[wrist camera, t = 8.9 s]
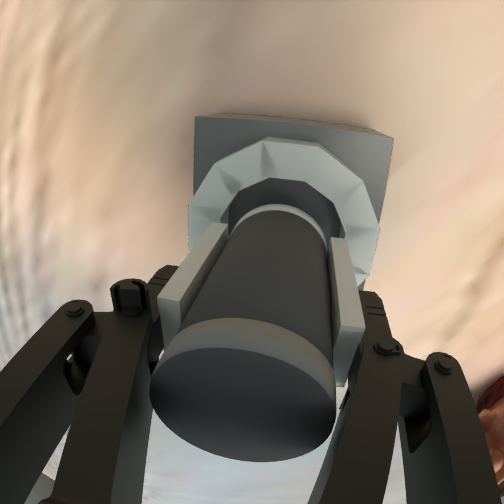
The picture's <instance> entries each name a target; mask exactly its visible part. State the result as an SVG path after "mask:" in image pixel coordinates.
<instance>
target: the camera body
mask: <svg viewBox="0 0 504 504" xmlns="http://www.w3.org/2000/svg"><path fill="white" fill-rule="evenodd" d="M393 141H394V139H393V138H391V137H389V136H386V135H384V134H382V133H379V132H377V131H375V130H371V129H365V128H360V127H354V126H347V125H341V124H334V123H327V122H320V121H312V120H304V119H295V118H285V117H274V116H262V115H248V114H230V113H220V114H212V115H205V116H198V117H195V136H194V197H193V198H192V200H191V202H190V203H189V205H188V224H189V252H191V250H192V249H193V248H194V246H195V245H196V244H197V242H198V241H199V240H200V238H201V237H202V236H203V234H204V233H205V232H206V230H207V229H208V228H209V227H210V225H211V224H212V223H213V222H215V223H224V224H228V239H229V237H230V234H231V232H232V231H233V229H234V227H235V226H236V224H237V223H238V221H239V220H240V219H241V218H242V217H243V216H244V215H245V214H247V213H248V212H249V211H251V210H253V209H255V208H257V207H260V206H263V205H268V204H284V205H289V206H292V207H296V208H298V209H300V210H302V211H304V212H305V213H307V214H308V215H309V216H310V217H312V218H313V219H314V220H315V221H316V223H317V224H318V225H319V227H320V228H321V230H322V232H323V234H324V237H325V240H326V246H327V255H328V250H329V244H330V238H331V237H335V238H342V239H347V243H348V248H349V252H350V256H351V260H352V265H353V269H354V273H355V278H356V283H357V287H358V290H361V291H363V287H364V283H365V279H366V278H367V277H368V276H369V274H370V270H371V266H372V262H373V258H374V254H375V250H376V246H377V241H378V237H379V233H380V227H379V220H380V215H381V211H382V206H383V201H384V195H385V190H386V184H387V179H388V173H389V167H390V161H391V155H392V148H393Z"/></svg>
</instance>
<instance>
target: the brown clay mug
mask: <svg viewBox="0 0 504 504" xmlns="http://www.w3.org/2000/svg"><path fill="white" fill-rule="evenodd" d="M476 409H477V412H478V415H479V418H480V421H481V424H482V427H483V431H484V434H485V437H486V441H487V444H488V448H489V451H490V455H491V459H492V462H493V466H494V470H495V474H496V479H497V483H498V488H499V492H500V496H501V497H502V496H504V376H503V377H502V378H500V379H499V380H498V381H497V382H496V383H495V384H494V385H492V386H491V387H490V388H489V389H488V390H487V391H486V393H485V394H484V395H483V396H482V398H481V399H480V401H479V402H478V404H477V406H476Z"/></svg>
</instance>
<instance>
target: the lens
mask: <svg viewBox="0 0 504 504" xmlns="http://www.w3.org/2000/svg"><path fill="white" fill-rule="evenodd" d="M149 396H150V401H151V404H152V407H153V408H154V410H155V412H156V414H157V415H158V417H159V418H160V419H161V421H162V422H163V423H164V424H165V425H166V426H167V427H168V428H169V429H170V430H171V431H173V432H174V433H175V434H176V435H178V436H179V437H180V438H182V439H184V440H185V441H187V442H188V443H190V444H192V445H194V446H196V447H198V448H200V449H202V450H205V451H207V452H210V453H213V454H215V455H219V456H222V457H226V458H230V459H235V460H241V461H250V462H275V461H282V460H288V459H292V458H296V457H299V456H302V455H304V454H307V453H309V452H311V451H312V450H314V449H316V448H317V447H319V446H320V445H321V444H322V443H324V441H325V440H326V439H327V438H328V437H329V435H330V433H331V432H332V429H333V426H334V423H335V420H336V382H335V375H334V370H333V344H332V324H331V307H330V293H329V280H328V267H327V246H326V240H325V237H324V234H323V232H322V230H321V228H320V227H319V225H318V224H317V223H316V221H315V220H314V219H313V218H312V217H310V216H309V215H308V214H307V213H305V212H304V211H302V210H300V209H298V208H296V207H292V206H289V205H284V204H268V205H263V206H260V207H257V208H255V209H253V210H251V211H249V212H248V213H247V214H245V215H244V216H243V217H242V218H241V219H240V220H239V221H238V223H237V224H236V226H235V227H234V229H233V231H232V232H231V234H230V237H229V239H228V242H227V243H226V245H225V247H224V249H223V250H222V252H221V254H220V256H219V257H218V259H217V261H216V263H215V264H214V266H213V268H212V270H211V272H210V273H209V275H208V277H207V279H206V281H205V282H204V284H203V286H202V288H201V289H200V291H199V293H198V295H197V297H196V298H195V300H194V302H193V304H192V306H191V308H190V309H189V311H188V313H187V315H186V317H185V318H184V320H183V322H182V324H181V326H180V328H179V329H178V331H177V333H176V335H175V337H174V338H173V339H172V340H171V341H170V343H169V344H168V346H167V348H166V349H165V351H164V353H163V355H162V357H161V359H160V361H159V362H158V364H157V366H156V368H155V370H154V372H153V373H152V377H151V380H150V386H149Z"/></svg>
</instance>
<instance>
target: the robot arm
mask: <svg viewBox="0 0 504 504" xmlns="http://www.w3.org/2000/svg"><path fill="white" fill-rule="evenodd" d="M227 242H228V224H224V223H215V222H213V223H212V224H211V225H210V227H209V228H208V229H207V230H206V232H205V233H204V234H203V236H202V237H201V238H200V240H199V241H198V242H197V244H196V245H195V246H194V248H193V249H192V250H191V252H190V253H189V254H188V256H187V257H186V258H185V260H184V261H183V262H182V264H181V265H180V266H172V265H166V266H164V267H163V268H161V269H159V270H158V271H157V272H156V273H155V274H154V276H153V278H151V279H150V281H149V282H148V283H146V282H144V281H142V280H140V279H124V280H121V281H118V282H116V283H115V284H113V285H112V286H111V288H110V292H111V297H112V303H113V308H114V310H113V312H94V311H93V307H92V305H91V304H90V302H88V301H86V300H72V301H70V302H67V303H65V304H64V305H63V306H61V307H60V308H59V309H58V310H57V311H56V312H55V313H54V314H53V315H52V316H51V317H50V318H49V319H48V320H47V321H46V322H45V324H44V325H43V326H42V327H41V328H40V329H39V330H38V331H37V332H36V333H35V334H34V335H33V336H32V337H31V338H30V339H29V340H28V342H27V343H26V344H25V345H24V346H23V347H22V348H21V349H20V350H19V351H18V352H17V354H16V355H15V356H14V357H13V358H12V359H11V360H10V361H9V363H8V364H7V365H6V366H5V367H4V368H3V369H2V371H1V372H0V504H24V503H25V501H26V499H27V497H28V495H29V494H30V492H31V490H32V488H33V486H34V485H35V483H36V481H37V479H38V478H39V476H40V474H41V473H42V471H43V469H44V467H45V466H46V464H47V462H48V461H49V459H50V457H51V455H52V454H53V452H54V450H55V449H56V447H57V445H58V444H59V442H60V441H61V439H62V437H63V436H64V434H65V432H66V431H67V429H68V427H69V426H70V424H71V426H70V429H69V432H68V436H67V439H66V442H65V446H64V449H63V453H62V456H61V460H60V464H59V467H58V471H57V475H56V479H55V483H54V487H53V491H52V494H51V495H50V497H49V498H46V499H43V500H41V501H40V502H39V503H38V504H141V503H142V493H143V483H144V473H145V465H146V456H147V448H148V441H149V433H150V426H151V419H152V412H153V407H152V404H151V401H150V396H149V386H150V380H151V377H152V373H153V372H154V370H155V368H156V366H157V364H158V362H159V355H160V353H161V352H162V350H163V349H164V351H165V349H166V348H167V346H168V344H169V343H170V341H171V340H172V339H173V338H174V337H175V335H176V333H177V331H178V329H179V328H180V326H181V324H182V322H183V320H184V318H185V317H186V315H187V313H188V311H189V309H190V308H191V306H192V304H193V302H194V300H195V298H196V297H197V295H198V293H199V291H200V289H201V288H202V286H203V284H204V282H205V281H206V279H207V277H208V275H209V273H210V272H211V270H212V268H213V266H214V264H215V263H216V261H217V259H218V257H219V256H220V254H221V252H222V250H223V249H224V247H225V245H226V243H227ZM327 267H328V280H329V293H330V307H331V324H332V344H333V370H334V375H335V382H336V387H344V385H345V383H346V380H347V378H348V389H347V391H346V394H345V396H344V398H343V401H342V403H341V405H340V408H339V409H341V410H340V413H339V417H338V420H337V423H336V426H335V429H334V432H333V435H332V438H331V442H330V444H329V447H328V450H327V453H326V456H325V459H324V462H323V465H322V467H321V470H320V473H319V475H318V478H317V481H316V483H315V486H314V488H313V491H312V494H311V496H310V499H309V501H308V503H307V504H382V503H383V499H384V494H385V490H386V485H387V481H388V476H389V471H390V466H391V460H392V455H393V449H394V443H395V436H396V430H397V422H398V426H399V433H400V440H401V448H402V457H403V466H404V476H405V487H406V500H407V504H502V503H501V498H500V492H499V488H498V483H497V479H496V474H495V470H494V466H493V462H492V459H491V455H490V451H489V448H488V444H487V441H486V437H485V434H484V431H483V427H482V424H481V421H480V418H479V415H478V412H477V409H476V406H475V403H474V400H473V398H472V395H471V392H470V389H469V387H468V384H467V381H466V379H465V376H464V374H463V371H462V368H461V366H460V364H459V363H458V361H457V360H456V359H455V358H453V357H452V356H450V355H448V354H446V353H442V352H434V353H432V354H430V355H428V357H427V359H426V361H424V360H421V359H417V358H414V357H411V356H409V355H406V354H405V353H404V350H403V347H402V345H401V344H400V343H399V342H398V341H397V340H395V339H394V338H392V334H391V331H390V327H389V323H388V320H387V316H386V313H385V310H384V306H383V303H382V300H381V298H380V297H379V296H378V295H377V294H376V293H375V292H370V291H361V290H358V287H357V283H356V278H355V273H354V269H353V265H352V260H351V256H350V252H349V248H348V243H347V239H342V238H335V237H331V238H330V244H329V250H328V255H327ZM70 354H71V355H72V356H71V358H70V359H69V360H68V361H67V358H68V356H69V355H70Z"/></svg>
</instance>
